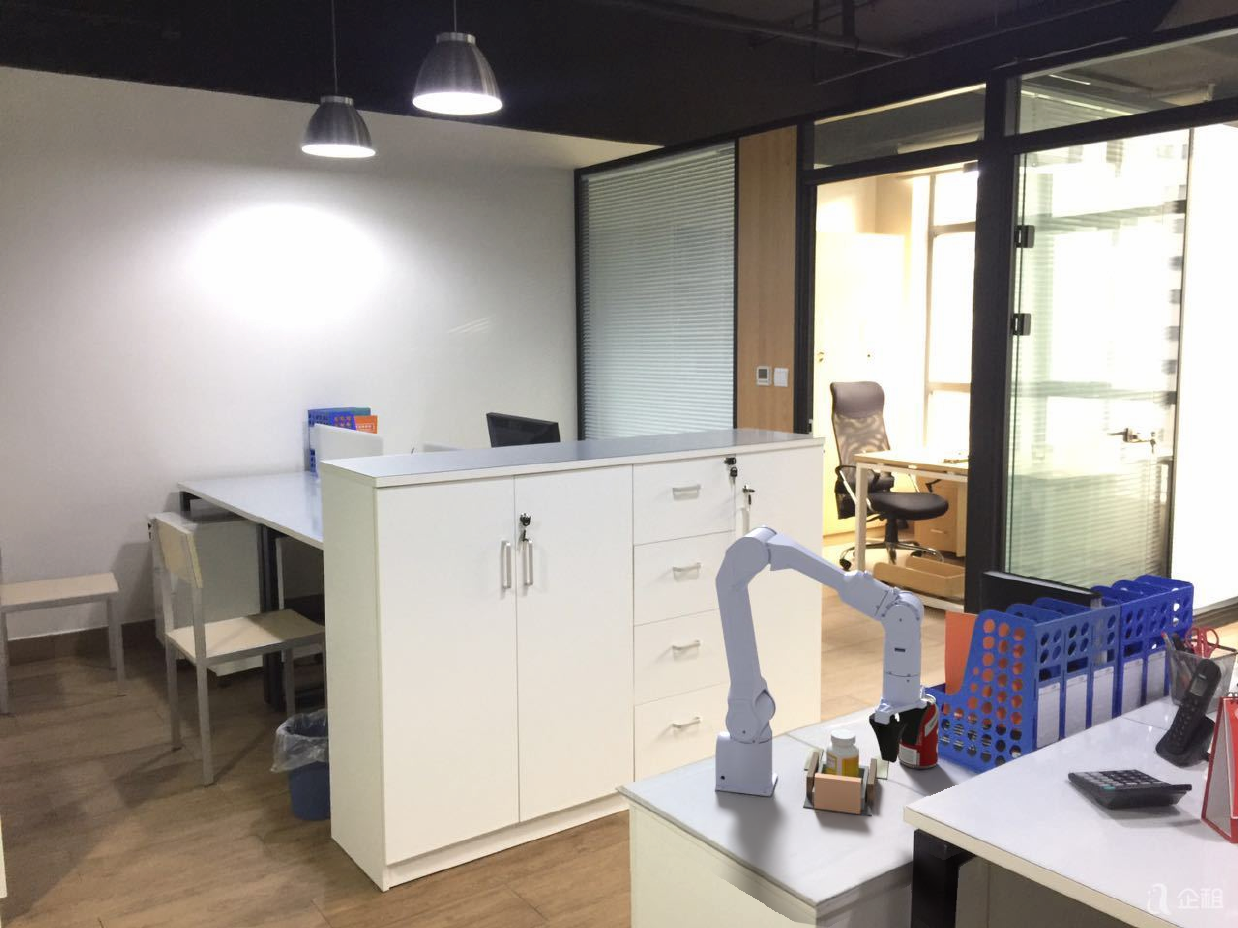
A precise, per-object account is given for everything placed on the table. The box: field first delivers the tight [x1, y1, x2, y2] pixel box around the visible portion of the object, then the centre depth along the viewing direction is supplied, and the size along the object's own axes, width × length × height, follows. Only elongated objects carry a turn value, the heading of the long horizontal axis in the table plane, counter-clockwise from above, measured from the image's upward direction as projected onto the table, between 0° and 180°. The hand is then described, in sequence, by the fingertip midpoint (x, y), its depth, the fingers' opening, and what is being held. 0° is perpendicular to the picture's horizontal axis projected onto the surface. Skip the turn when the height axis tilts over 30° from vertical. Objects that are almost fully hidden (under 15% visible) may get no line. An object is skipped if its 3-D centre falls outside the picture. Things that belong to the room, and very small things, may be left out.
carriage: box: [812, 760, 870, 815], centre depth 169 cm, size 8×14×5 cm, turn 163°
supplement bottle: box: [825, 728, 860, 778], centre depth 171 cm, size 5×5×10 cm
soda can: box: [897, 693, 940, 770], centre depth 180 cm, size 7×7×12 cm
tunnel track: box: [802, 747, 889, 817], centre depth 174 cm, size 14×23×4 cm, turn 163°
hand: (899, 752), depth 162 cm, fingers open, 7 cm apart
